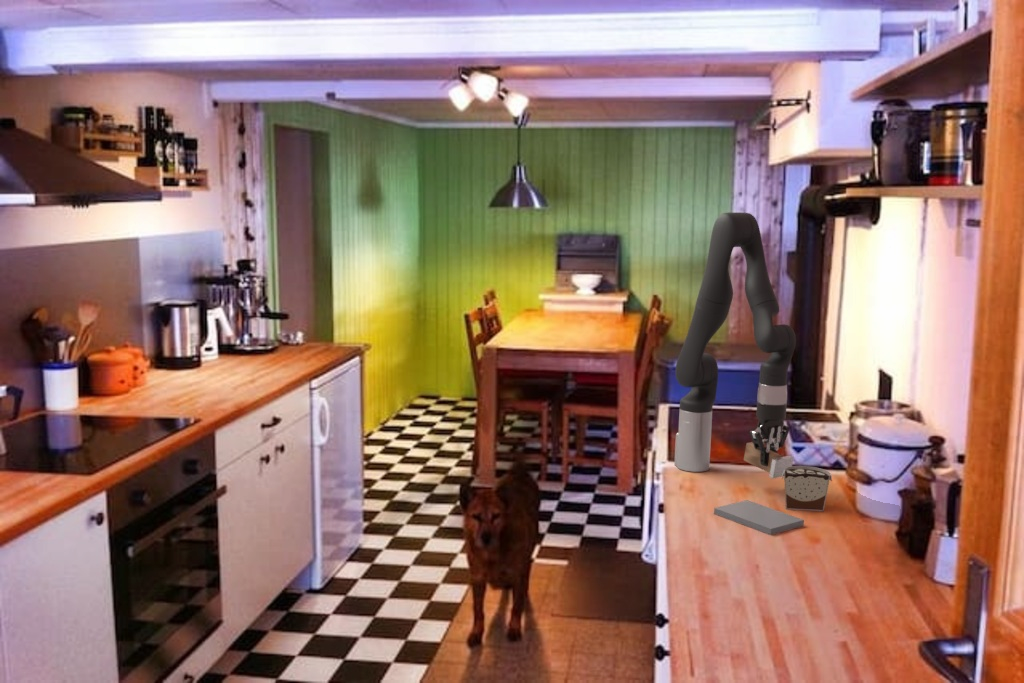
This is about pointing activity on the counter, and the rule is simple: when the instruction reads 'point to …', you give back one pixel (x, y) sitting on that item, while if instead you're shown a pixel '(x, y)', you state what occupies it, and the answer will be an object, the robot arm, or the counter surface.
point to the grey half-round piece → (806, 487)
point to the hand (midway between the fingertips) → (767, 464)
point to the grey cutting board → (759, 517)
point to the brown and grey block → (775, 461)
